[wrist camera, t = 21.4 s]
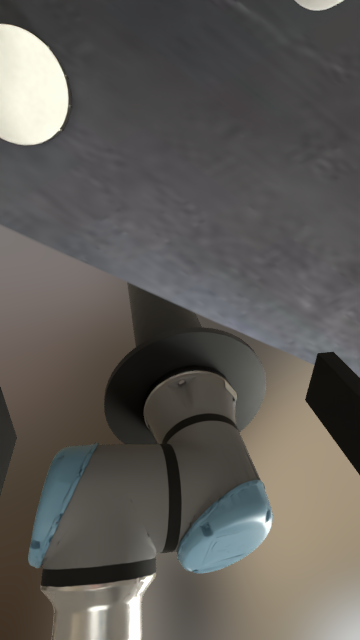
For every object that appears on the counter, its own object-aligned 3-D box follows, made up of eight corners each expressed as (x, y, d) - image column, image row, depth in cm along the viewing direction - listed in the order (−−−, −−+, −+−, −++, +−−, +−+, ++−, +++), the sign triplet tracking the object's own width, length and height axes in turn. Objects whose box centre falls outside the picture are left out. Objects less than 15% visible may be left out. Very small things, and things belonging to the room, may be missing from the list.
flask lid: (-52, 68, 29) (-67, 63, 27) (27, 9, 28) (19, -3, 26) (20, 161, 33) (13, 164, 31) (90, 112, 33) (88, 111, 30)
